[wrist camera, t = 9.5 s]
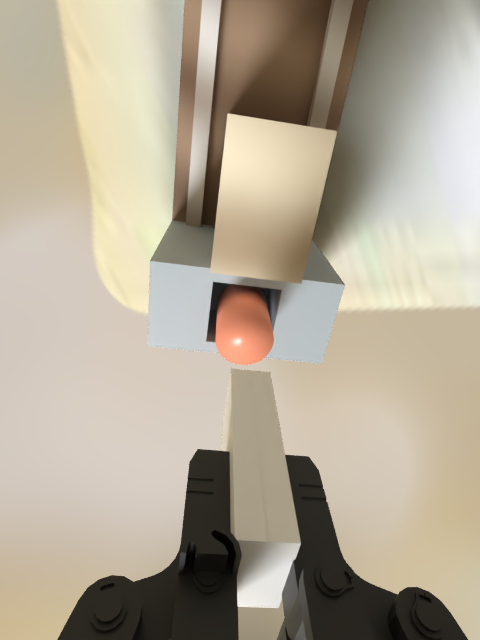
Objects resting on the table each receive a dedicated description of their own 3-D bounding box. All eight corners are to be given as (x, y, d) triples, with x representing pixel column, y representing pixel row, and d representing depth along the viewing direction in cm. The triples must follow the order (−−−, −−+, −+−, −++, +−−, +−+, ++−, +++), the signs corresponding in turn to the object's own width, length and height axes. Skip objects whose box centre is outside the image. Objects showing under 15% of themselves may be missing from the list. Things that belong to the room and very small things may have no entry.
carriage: (227, 116, 23) (227, 113, 13) (291, 126, 23) (337, 131, 14) (216, 214, 26) (209, 272, 16) (273, 222, 26) (301, 283, 16)
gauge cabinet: (172, 215, 27) (145, 260, 19) (308, 233, 28) (344, 284, 19) (168, 278, 30) (143, 345, 21) (294, 293, 31) (321, 364, 22)
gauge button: (220, 278, 21) (218, 311, 17) (270, 284, 21) (278, 318, 17) (214, 323, 22) (212, 361, 18) (261, 328, 22) (268, 367, 19)
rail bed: (201, -233, 18) (194, -335, 14) (403, -184, 19) (451, -266, 15) (171, 278, 30) (162, 303, 26) (294, 293, 31) (304, 319, 27)
